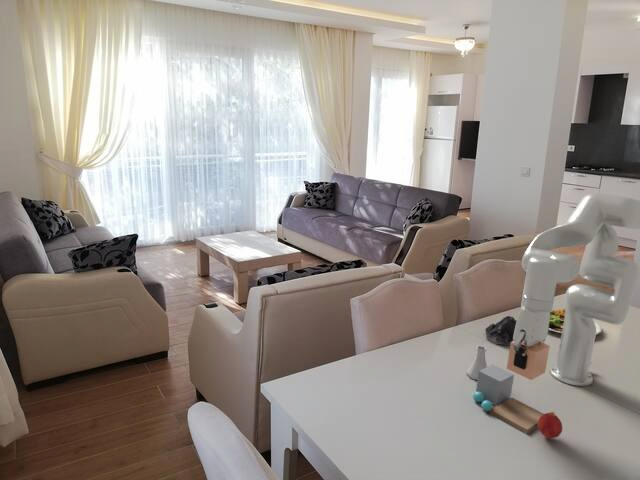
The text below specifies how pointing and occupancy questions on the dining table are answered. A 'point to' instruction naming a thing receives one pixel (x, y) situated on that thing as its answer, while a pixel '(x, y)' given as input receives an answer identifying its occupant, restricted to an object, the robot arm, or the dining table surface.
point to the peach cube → (530, 360)
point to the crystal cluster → (502, 331)
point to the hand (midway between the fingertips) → (527, 362)
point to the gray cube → (495, 384)
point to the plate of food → (562, 321)
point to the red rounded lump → (550, 425)
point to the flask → (477, 363)
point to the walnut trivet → (517, 414)
